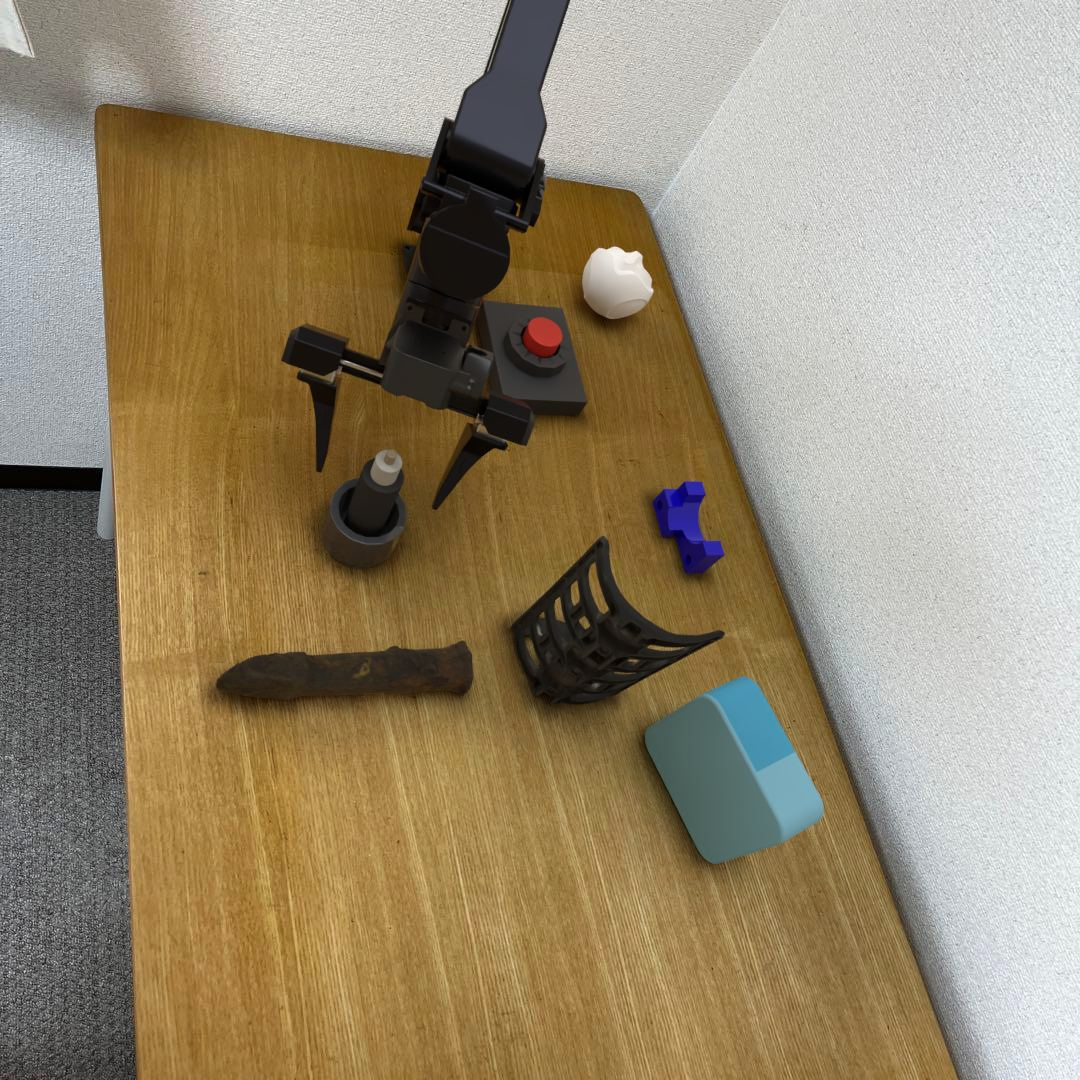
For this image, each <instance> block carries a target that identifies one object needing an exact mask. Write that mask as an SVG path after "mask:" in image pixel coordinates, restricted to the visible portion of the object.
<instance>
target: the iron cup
mask: <svg viewBox="0 0 1080 1080" xmlns="http://www.w3.org/2000/svg"><path fill="white" fill-rule="evenodd" d="M359 478H360V476H359V477H354V478H352V479H349V480H347V481H344V482H343V483H341V484H340V485H339V486H338V487H337V489H335V490H334V492H333V493H332V496H331V498H330V502H329V505H328V507H327V510H326V514H325V517H324V520H323V523H322V527H321V538H322V543H323V545H324V547H325V550H327V551H328V554H329V555H330V557H332V558H333V559H334V560H335V561H337V562H338V563H340V564H342V565H343V566H346V567H349V568H353V569H370V568H375V567H377V566H379V565H381V564H383V563H384V562H386V560H388V558H389V557H390V556H391V555H392V554H393V552H394V550H395V548H396V546H397V544H398V542H399V540H400V538H401V536H402V534H403V532H404V529H405V527H406V523H407V520H408V512H407V505H406V502H405V501H404V499H403V497H402V495H401V494H400V493H399V494H398V496H397V498H396V500H395V503H394V505H393V507H392V509H391V512H390V514H389V516H388V518H387V521H386V523H385V525H384V527H383V530H382V532H381V534H380V536H379V537H365V536H362V535H359V534H356V533H354V532H353V531H352V530H350V529H349V528H348V527H347V526H345V524H344V519H345V516H346V513H347V511H348V508H349V505H350V502H351V500H352V497H353V494H354V491H355V489H356V486H357V483H358V480H359Z"/></svg>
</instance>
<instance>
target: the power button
mask: <svg viewBox="0 0 1080 1080" xmlns="http://www.w3.org/2000/svg"><path fill="white" fill-rule="evenodd" d="M522 340H523V344H524V346H525V347H526V349H527V350H528V351H529V352H530V353H532V354H534V355H536V356H538V357H549V356H551V355H553V354H554V353H555V351H556V350H557V348H558V346H559V344H560V343H561V341H562V332H561V330H560V328H559V327H558V325H557V324H555V323H554V322H553V321H551V320H549V319H547V318H542V317H538V318H534V319H532V320H531V321H530V322H529V324H528V326H527V328H526V330H525V332H524V334H523V337H522Z"/></svg>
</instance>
